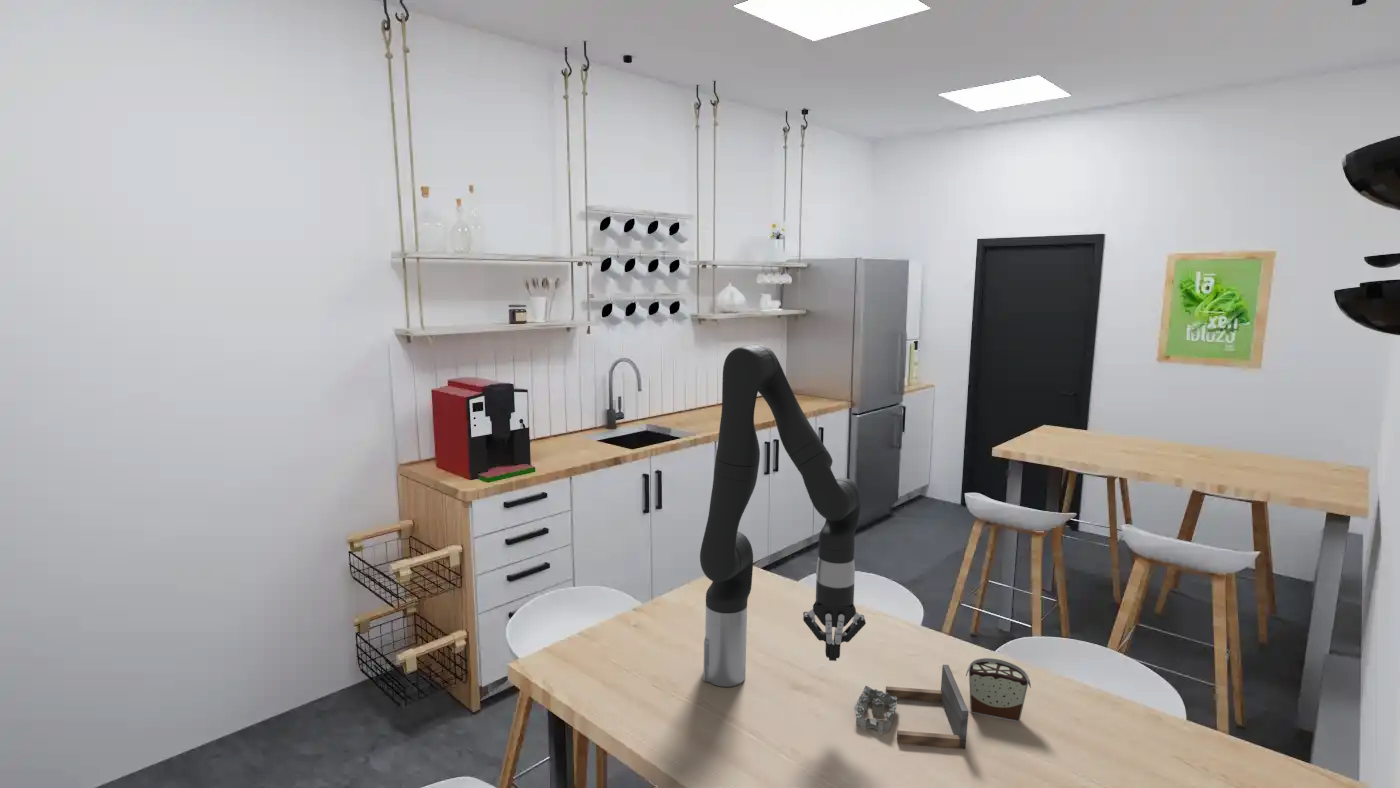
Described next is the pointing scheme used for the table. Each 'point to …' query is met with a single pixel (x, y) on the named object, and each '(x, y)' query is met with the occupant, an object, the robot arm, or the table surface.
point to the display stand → (951, 705)
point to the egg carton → (875, 709)
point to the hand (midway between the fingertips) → (832, 658)
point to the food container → (997, 688)
